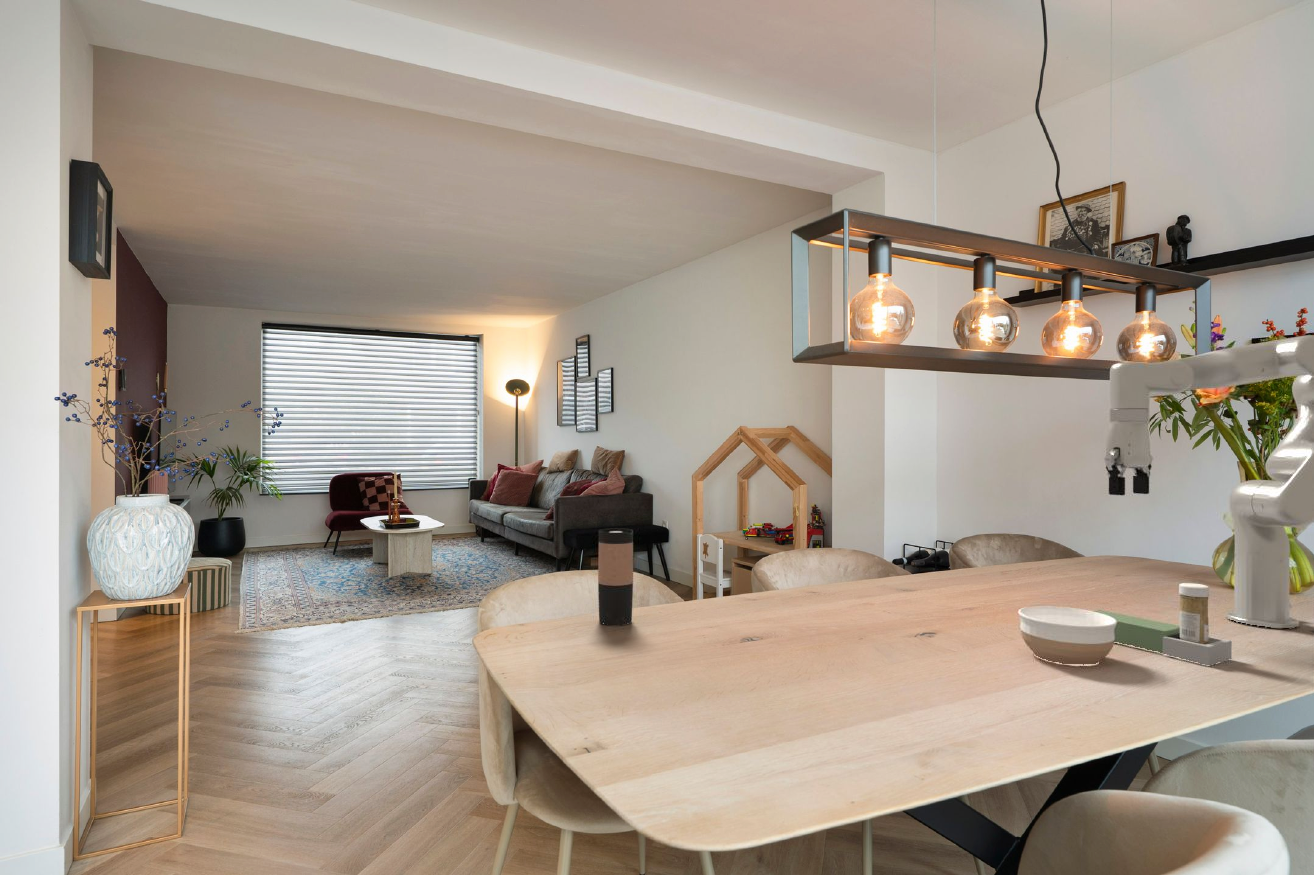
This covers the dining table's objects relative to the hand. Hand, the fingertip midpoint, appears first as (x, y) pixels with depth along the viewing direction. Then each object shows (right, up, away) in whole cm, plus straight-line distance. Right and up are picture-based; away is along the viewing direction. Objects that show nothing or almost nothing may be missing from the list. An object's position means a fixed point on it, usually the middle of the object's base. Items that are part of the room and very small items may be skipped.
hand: (1129, 494), depth 165 cm
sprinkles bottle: (-5, -28, -28) cm, 40 cm away
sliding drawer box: (-9, -28, -21) cm, 36 cm away
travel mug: (-115, -28, -3) cm, 118 cm away
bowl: (-30, -28, -29) cm, 50 cm away
